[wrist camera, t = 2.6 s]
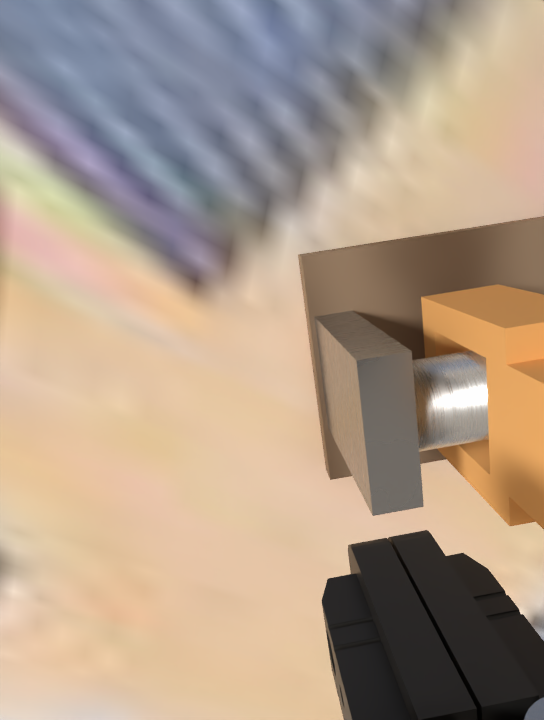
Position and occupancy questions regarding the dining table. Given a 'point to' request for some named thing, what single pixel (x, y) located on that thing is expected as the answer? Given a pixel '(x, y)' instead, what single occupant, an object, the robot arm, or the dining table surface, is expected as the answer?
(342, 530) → the dining table surface
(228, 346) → the dining table surface
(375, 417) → the pipe
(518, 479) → the collar
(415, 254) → the base board
